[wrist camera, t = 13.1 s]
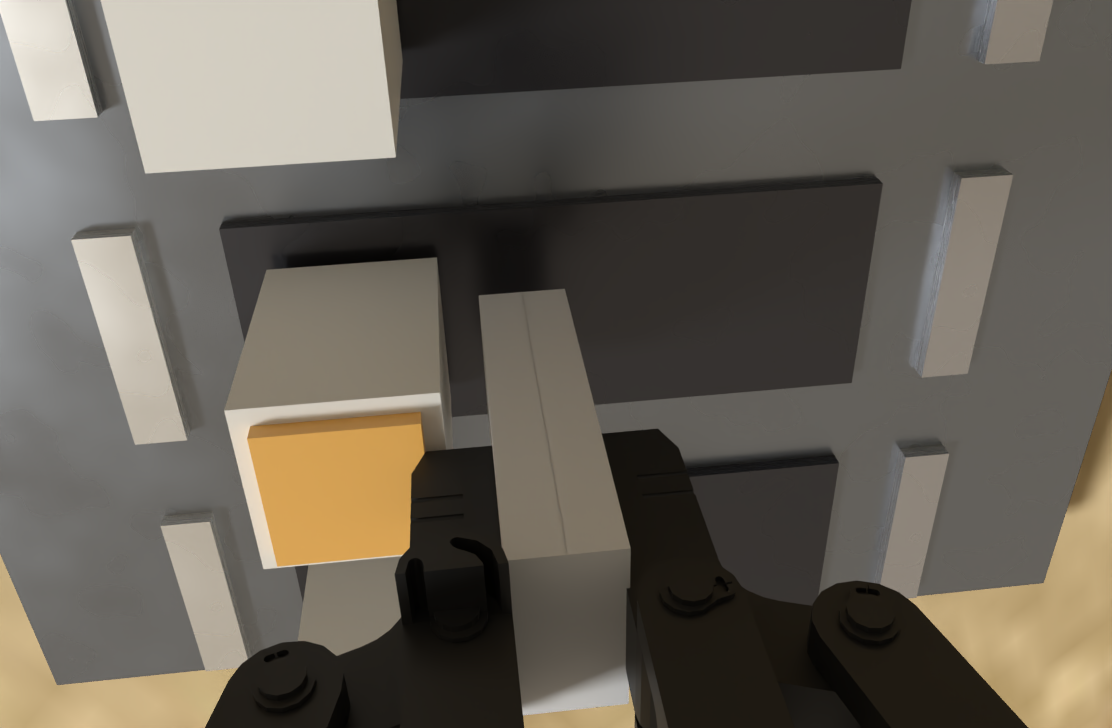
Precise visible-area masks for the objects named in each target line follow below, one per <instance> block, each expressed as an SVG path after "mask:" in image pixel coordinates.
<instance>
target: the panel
mask: <svg viewBox="0 0 1112 728" xmlns="http://www.w3.org/2000/svg"><path fill="white" fill-rule="evenodd" d="M396 3H397V12H398V22H399V31H400V40H401V50H402V59H403V64H402V78H401V92H400V106H399V121H398V135H397V149H396V157H395V158H379V159H364V160H348V161H333V162H317V163H302V164H286V165H271V166H255V167H239V168H224V169H208V170H193V171H177V172H162V173H146V174H145V170H144V166H143V162H142V159H141V155H140V151H139V147H138V143H137V139H136V135H135V132H134V128H133V124H132V120H131V116H130V112H129V108H128V105H127V101H126V97H125V93H124V89H123V85H122V81H121V77H120V74H119V70H118V66H117V62H116V58H115V54H114V50H113V47H112V43H111V39H110V35H109V31H108V27H107V23H106V20H105V16H104V12H103V8H102V4H101V0H0V554H1V557H2V559H3V561H4V564H5V566H6V568H7V570H8V573H9V575H10V577H11V580H12V582H13V584H14V587H15V589H16V591H17V594H18V596H19V598H20V600H21V603H22V605H23V607H24V610H25V612H26V614H27V617H28V619H29V621H30V624H31V626H32V628H33V630H34V633H35V635H36V637H37V640H38V642H39V644H40V647H41V649H42V651H43V654H44V656H45V658H46V660H47V663H48V665H49V667H50V670H51V672H52V674H53V677H54V679H55V681H56V684H57V685H63V684H72V683H82V682H92V681H101V680H111V679H121V678H130V677H140V676H150V675H159V674H169V673H179V672H188V671H198V670H206V671H212V670H222V669H231V668H239V667H240V665H241V664H242V663H243V662H245V661H246V660H247V659H249V658H250V657H252V656H253V655H255V654H256V653H257V652H259V651H260V650H263V649H265V648H268V647H271V646H274V645H276V644H279V643H282V642H294V641H298V636H299V629H300V621H301V614H302V607H303V600H304V593H305V586H306V579H307V572H308V565H303V566H293V567H282V568H272V569H263V565H262V561H261V557H260V553H259V549H258V545H257V541H256V537H255V533H254V529H253V525H252V521H251V517H250V513H249V509H248V505H247V501H246V497H245V493H244V489H243V485H242V481H241V477H240V473H239V468H238V464H237V460H236V456H235V452H234V448H233V444H232V440H231V436H230V432H229V428H228V424H227V420H226V416H225V412H224V410H225V406H226V403H227V400H228V396H229V393H230V390H231V386H232V383H233V380H234V376H235V373H236V370H237V366H238V363H239V360H240V356H241V353H242V350H243V346H244V343H245V340H246V336H247V333H248V330H249V326H250V323H251V320H252V316H253V313H254V310H255V307H256V303H257V300H258V297H259V293H260V290H261V287H262V283H263V280H264V277H265V273H266V270H270V269H284V268H298V267H312V266H326V265H339V264H353V263H367V262H381V261H394V260H408V259H422V258H436V257H437V263H438V273H439V283H440V293H441V303H442V313H443V323H444V333H445V343H446V353H447V363H448V373H449V383H450V393H451V414H452V439H453V449H459V448H470V447H482V446H491V442H490V432H489V420H488V408H487V395H486V383H485V370H484V357H483V345H482V332H481V320H480V307H479V295H491V294H504V293H516V292H529V291H542V290H555V289H565V292H566V296H567V300H568V303H569V307H570V311H571V315H572V319H573V323H574V327H575V331H576V335H577V339H578V343H579V347H580V351H581V355H582V359H583V363H584V367H585V370H586V374H587V378H588V382H589V386H590V390H591V394H592V398H593V402H594V406H595V410H596V414H597V418H598V422H599V426H600V430H601V433H613V432H624V431H635V430H647V429H659V430H660V431H661V432H662V433H663V434H664V435H665V436H667V437H668V438H669V439H670V440H671V441H672V442H673V443H674V444H675V445H676V446H677V447H678V448H679V450H680V453H681V456H682V459H683V461H684V464H685V467H686V470H687V475H689V478H690V481H691V484H692V486H693V489H694V494H695V495H696V498H697V500H698V503H699V506H700V509H701V512H702V514H703V517H704V520H705V523H706V526H707V528H708V531H709V534H710V537H711V540H712V542H713V545H714V548H715V551H716V553H717V556H718V559H719V561H720V563H721V565H722V567H723V568H724V569H726V570H727V571H729V572H730V573H732V574H733V575H734V576H735V577H736V579H737V580H738V582H739V583H740V585H741V586H742V587H743V588H745V589H746V590H748V591H750V592H753V593H755V594H757V595H759V596H762V597H765V598H770V599H774V600H778V601H784V602H790V603H797V604H804V605H810V606H812V604H813V603H814V601H815V600H816V598H817V597H818V596H819V594H820V593H821V591H823V590H825V589H827V588H829V587H831V586H832V585H834V584H836V583H842V582H849V581H864V582H871V583H878V584H881V585H883V586H885V587H888V588H890V589H893V590H895V591H897V592H900V593H901V594H902V595H903V596H905V597H906V598H916V597H917V596H923V595H932V594H942V593H952V592H961V591H971V590H981V589H990V588H1000V587H1010V586H1019V585H1029V584H1039V583H1044V580H1045V576H1046V573H1047V570H1048V567H1049V564H1050V561H1051V558H1052V554H1053V551H1054V548H1055V545H1056V542H1057V539H1058V536H1059V533H1060V529H1061V526H1062V523H1063V520H1064V517H1065V514H1066V511H1067V508H1068V504H1069V501H1070V498H1071V495H1072V492H1073V489H1074V486H1075V483H1076V479H1077V476H1078V473H1079V470H1080V467H1081V464H1082V461H1083V457H1084V454H1085V451H1086V448H1087V445H1088V442H1089V439H1090V436H1091V432H1092V429H1093V426H1094V423H1095V420H1096V417H1097V414H1098V411H1099V407H1100V404H1101V401H1102V398H1103V395H1104V392H1105V389H1106V386H1107V382H1108V379H1109V376H1110V373H1111V370H1112V0H396Z"/></svg>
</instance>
